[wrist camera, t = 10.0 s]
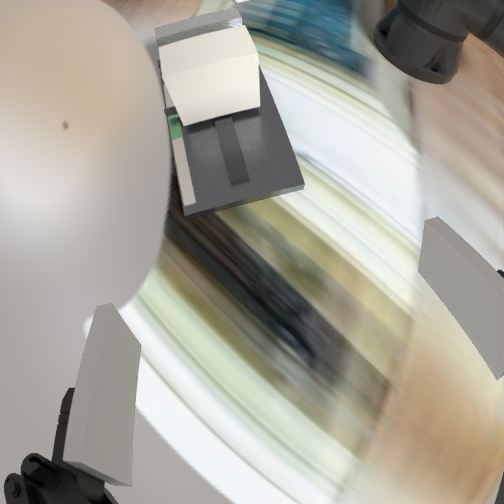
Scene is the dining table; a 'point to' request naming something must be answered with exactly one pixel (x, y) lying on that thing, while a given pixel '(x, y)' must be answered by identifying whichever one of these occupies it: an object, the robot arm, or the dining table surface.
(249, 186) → the frame
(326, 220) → the dining table surface
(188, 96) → the block
